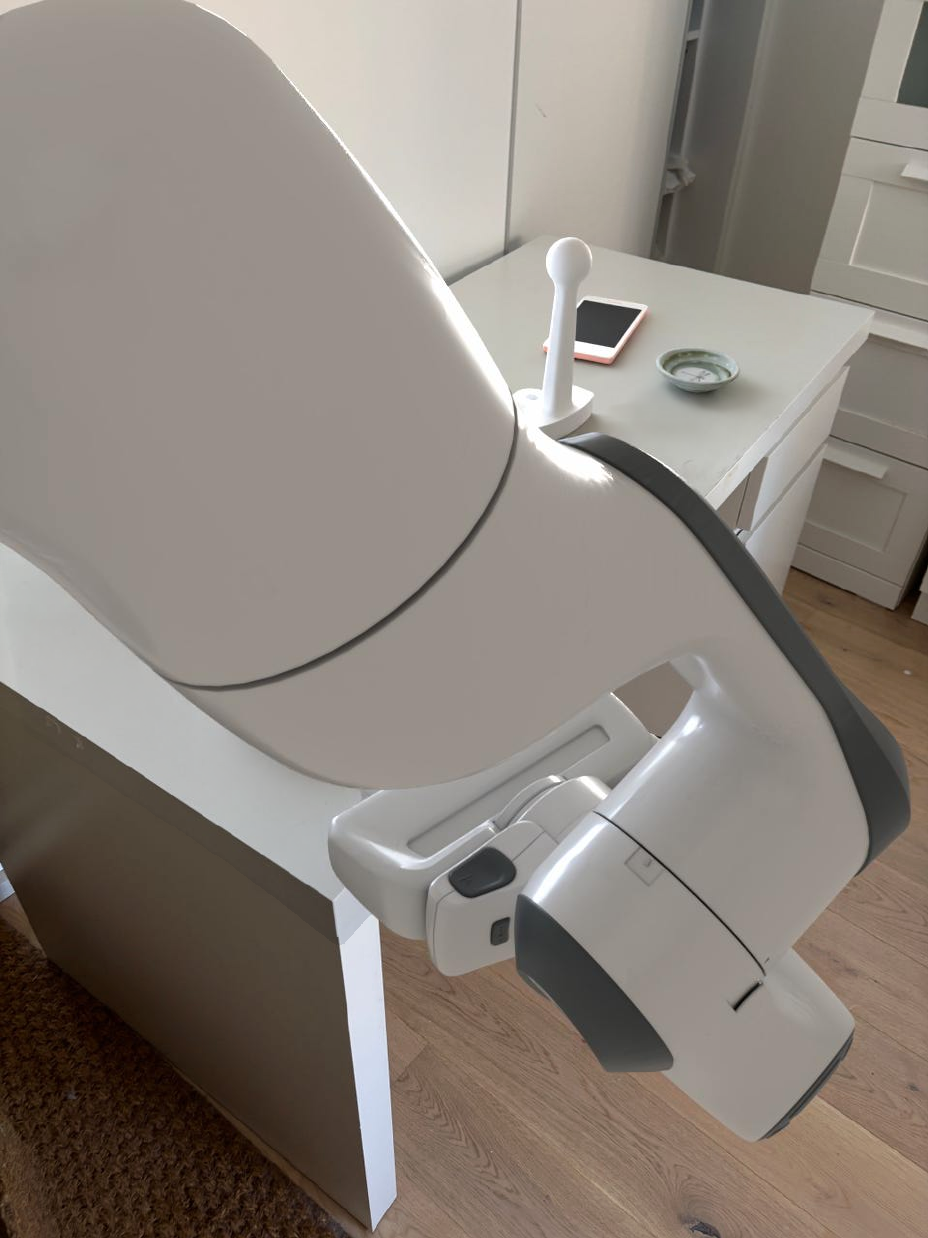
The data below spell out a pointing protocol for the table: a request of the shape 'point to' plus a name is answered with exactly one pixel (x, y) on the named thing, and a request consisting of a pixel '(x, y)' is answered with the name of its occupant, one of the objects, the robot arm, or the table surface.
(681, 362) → the saucer
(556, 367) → the joystick
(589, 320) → the cell phone
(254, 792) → the table surface
